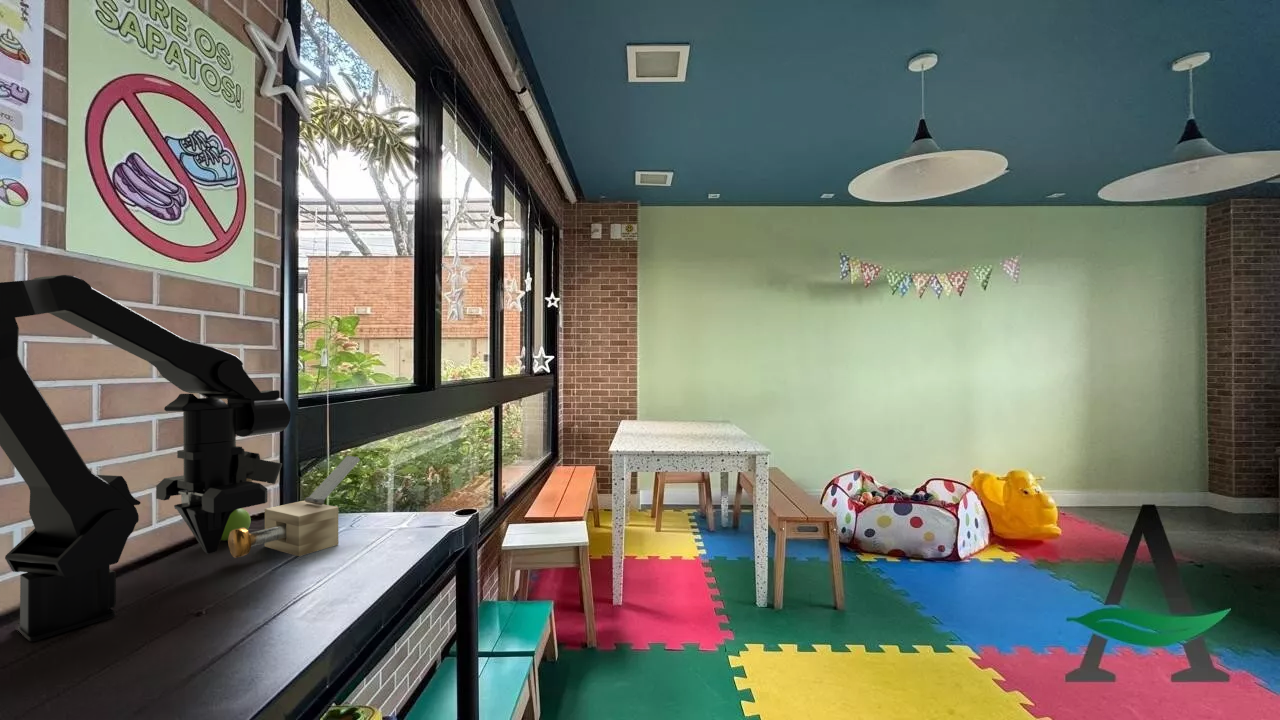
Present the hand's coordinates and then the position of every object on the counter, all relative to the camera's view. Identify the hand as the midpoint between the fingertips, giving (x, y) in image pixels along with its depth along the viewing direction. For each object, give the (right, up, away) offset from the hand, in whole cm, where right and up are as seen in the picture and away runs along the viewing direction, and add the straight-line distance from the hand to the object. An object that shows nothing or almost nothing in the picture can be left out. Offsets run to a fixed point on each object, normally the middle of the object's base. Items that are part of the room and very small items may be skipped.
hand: (211, 552), depth 73 cm
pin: (+5, -2, +8) cm, 10 cm away
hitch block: (+6, -3, +10) cm, 12 cm away
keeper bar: (+9, +6, +15) cm, 19 cm away
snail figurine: (-8, -3, +14) cm, 16 cm away
